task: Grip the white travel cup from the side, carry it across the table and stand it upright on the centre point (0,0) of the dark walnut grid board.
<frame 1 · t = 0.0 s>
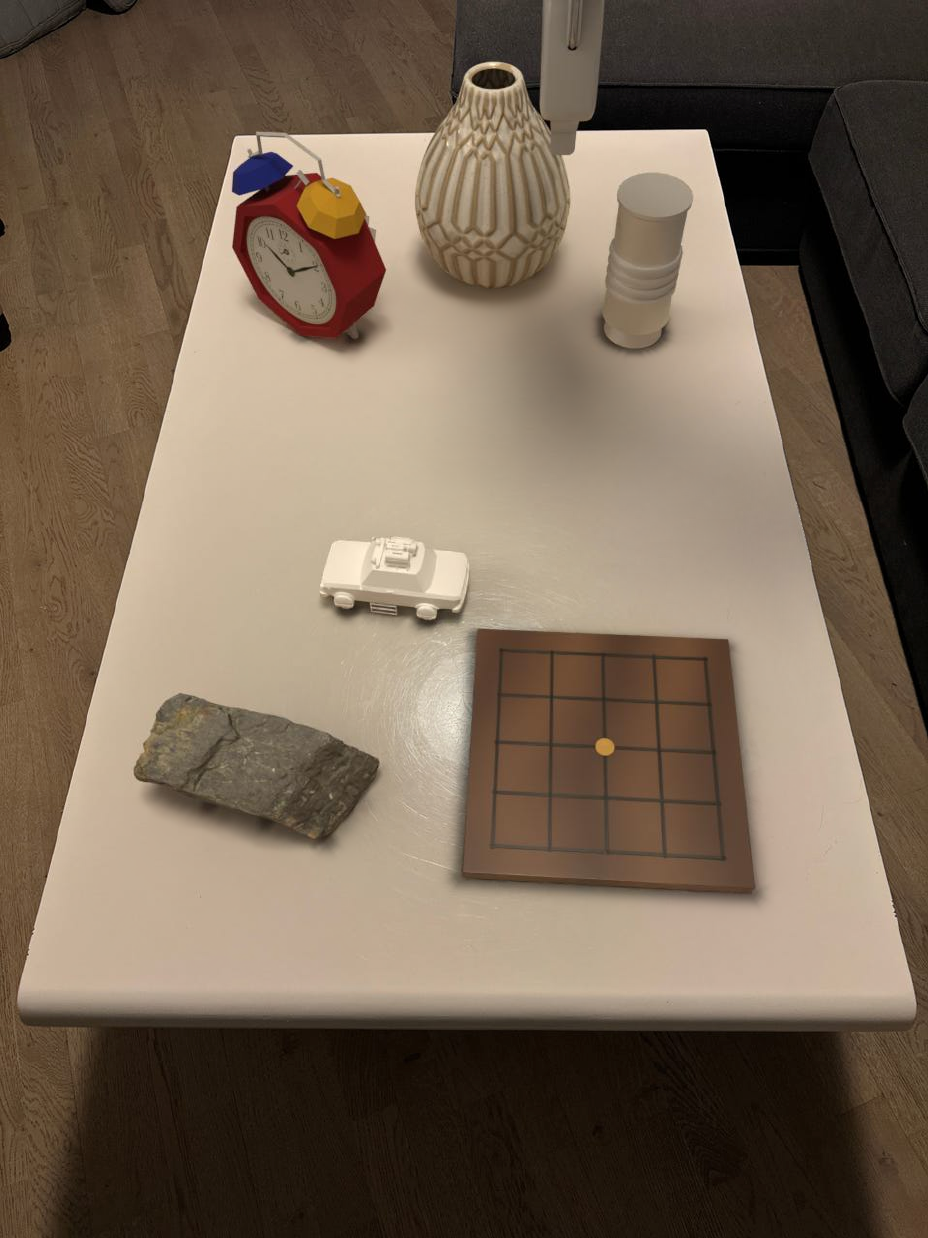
hand: (562, 114, 71), 26 cm above the table, tool pointing down, fingers open, 8 cm apart
alarm clock: (326, 315, 99), on the table
rock: (266, 788, 70), on the table
toy car: (397, 593, 79), on the table
white travel cup: (632, 330, 97), on the table
grid board: (603, 754, 71), on the table
vase: (491, 265, 103), on the table
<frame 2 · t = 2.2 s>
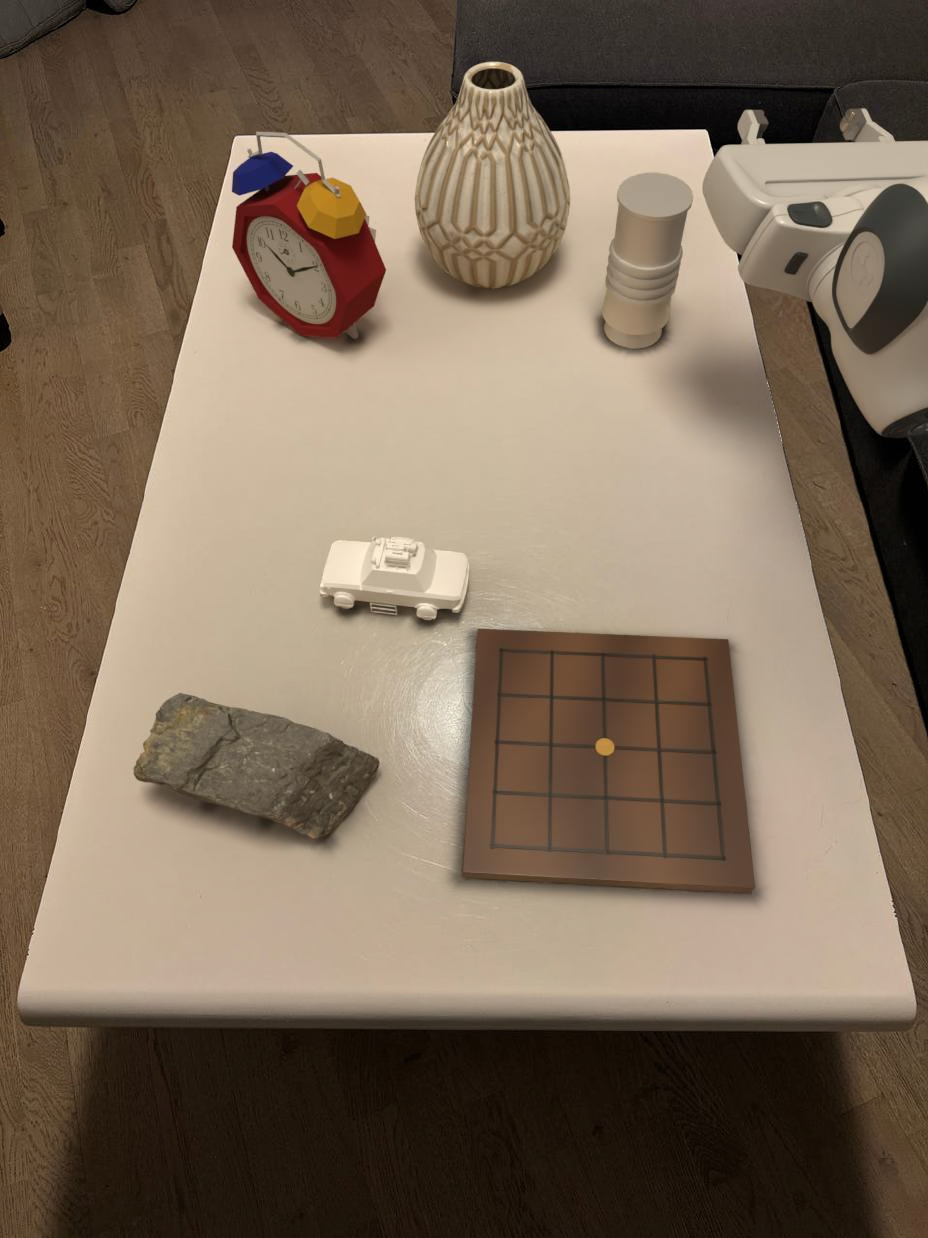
hand: (800, 115, 77), 23 cm above the table, tool horizontal, fingers open, 8 cm apart
nothing on the table moved.
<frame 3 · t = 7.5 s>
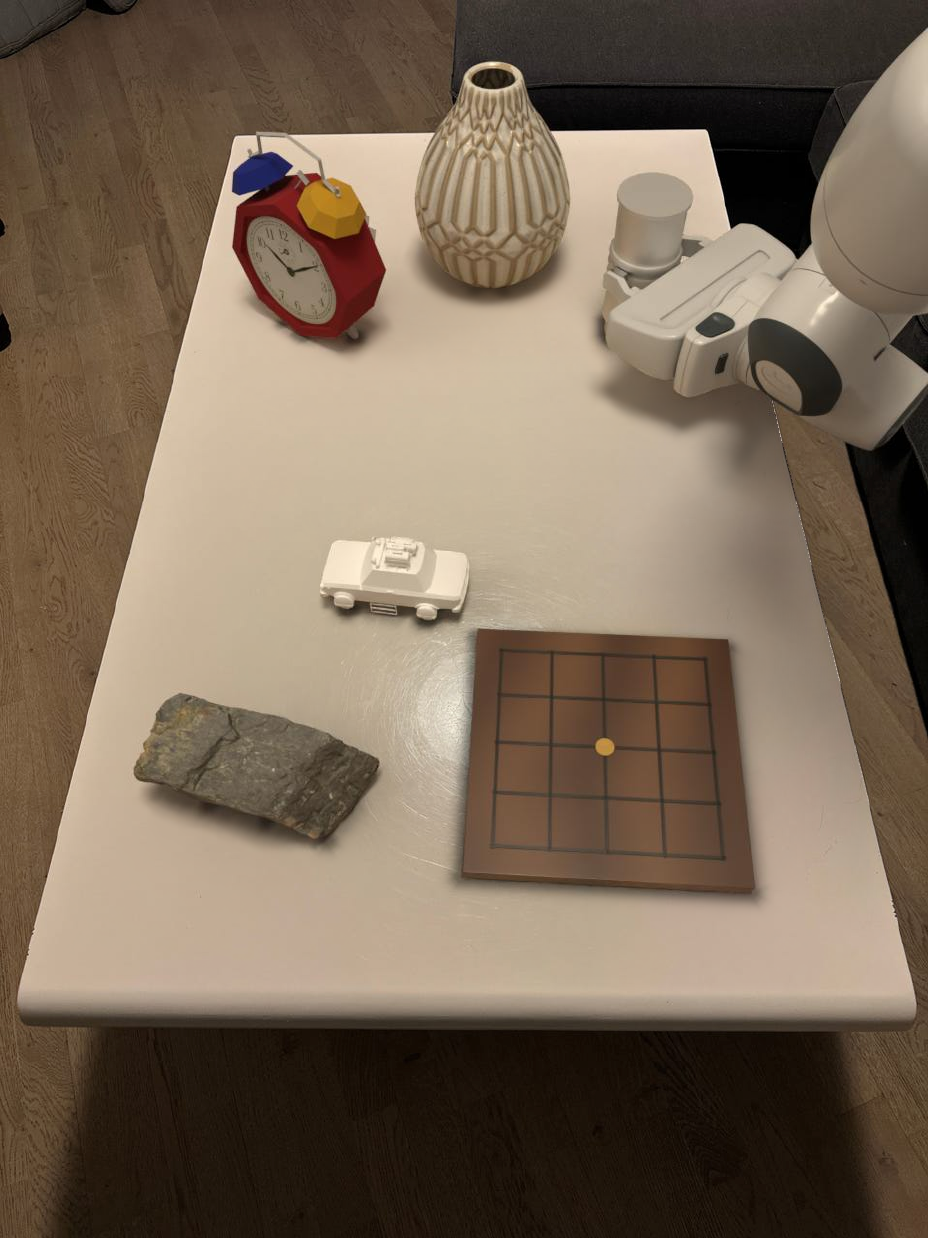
hand: (636, 256, 90), 8 cm above the table, tool horizontal, fingers closed on white travel cup, 7 cm apart
white travel cup: (632, 329, 97), on the table, touching gripper
everything else where it was.
when the fingers open (9 cm above the table, at t = 23.1 s): white travel cup stays where it is, resting on grid board.
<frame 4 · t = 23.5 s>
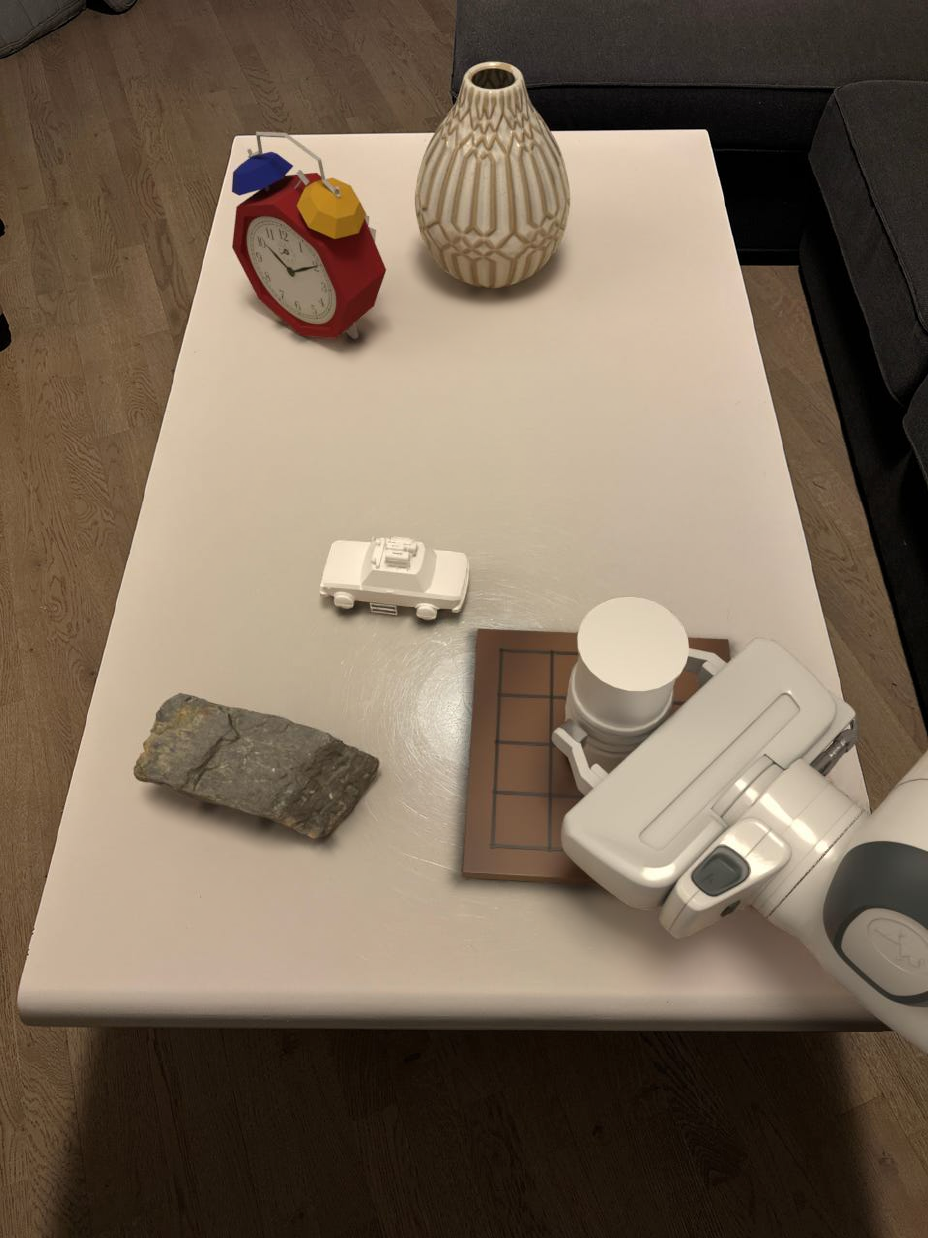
hand: (608, 685, 63), 9 cm above the table, tool horizontal, fingers open, 8 cm apart
white travel cup: (605, 749, 70), point 1 cm above the table, touching grid board
everything else where it was.
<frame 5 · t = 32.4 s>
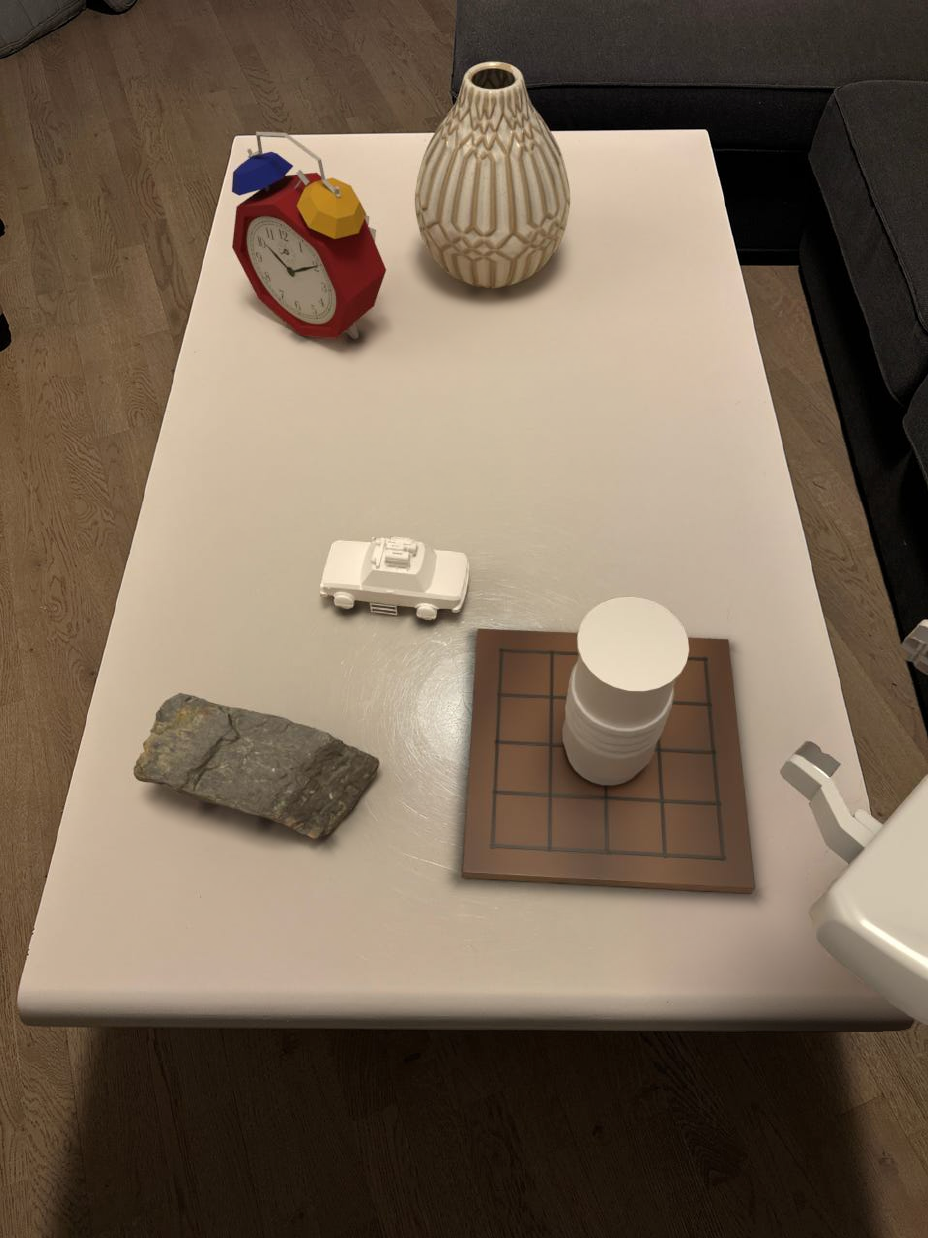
hand: (853, 692, 44), 26 cm above the table, tool horizontal, fingers open, 8 cm apart
nothing on the table moved.
at the end: white travel cup 0.1 cm off-centre on the grid board, point 1.1 cm above the grid board's base; white travel cup tilted 0°; the gripper is holding nothing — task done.
